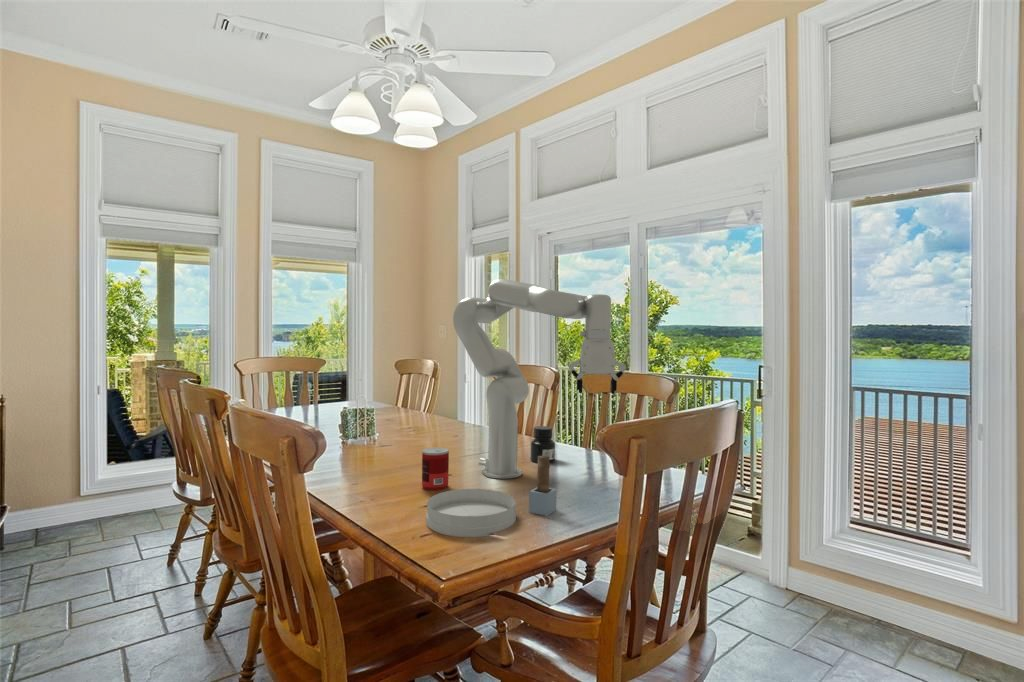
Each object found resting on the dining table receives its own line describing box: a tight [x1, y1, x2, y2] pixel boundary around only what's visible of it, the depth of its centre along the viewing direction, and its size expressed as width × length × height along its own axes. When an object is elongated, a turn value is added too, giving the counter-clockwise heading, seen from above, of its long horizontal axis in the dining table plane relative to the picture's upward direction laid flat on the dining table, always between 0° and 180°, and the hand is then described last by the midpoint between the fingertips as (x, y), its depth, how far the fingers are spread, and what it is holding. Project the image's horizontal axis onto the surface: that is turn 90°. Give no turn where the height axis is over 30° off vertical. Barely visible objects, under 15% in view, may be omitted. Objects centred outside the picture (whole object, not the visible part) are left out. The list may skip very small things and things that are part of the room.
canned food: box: [421, 447, 450, 491], centre depth 164 cm, size 8×8×11 cm
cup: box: [528, 486, 557, 517], centre depth 141 cm, size 5×5×6 cm
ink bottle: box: [529, 425, 556, 463], centre depth 198 cm, size 10×9×12 cm
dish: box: [425, 488, 517, 538], centre depth 135 cm, size 22×22×5 cm
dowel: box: [536, 456, 550, 493], centre depth 141 cm, size 3×3×14 cm
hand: (596, 392), depth 164 cm, fingers open, 9 cm apart
